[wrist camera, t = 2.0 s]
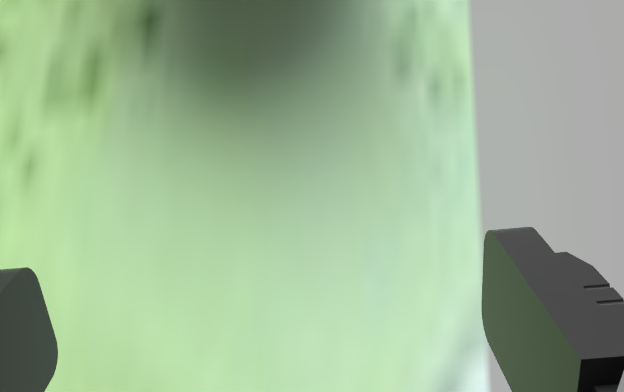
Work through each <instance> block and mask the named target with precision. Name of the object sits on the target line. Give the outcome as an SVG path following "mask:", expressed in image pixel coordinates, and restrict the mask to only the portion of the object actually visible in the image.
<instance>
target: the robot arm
mask: <svg viewBox="0 0 624 392" xmlns="http://www.w3.org/2000/svg"><path fill="white" fill-rule="evenodd" d="M482 319H483V326H484V330H485V334H486V338H487V340H488V343H489V345H490V347H491V349H492V351H493V353H494V355H495V357H496V359H497V361H498V364H499V366H500V368H501V370H502V372H503V374H504V376H505V378H506V380H507V382H508V384H509V386H510V388H511V390H512V392H624V300H623V298H622V297H621V296H620V295H619V294H618V293H617V291H616V290H615V289H614V288H610V286H609V283H608V282H607V281H606V280H605V279H604V278H603V277H602V275H601V274H599V272H598V271H597V270H596V269H595V268H594V267H593V266H592V265H590V264H588V263H586V262H584V261H582V260H581V259H579V258H576V257H575V256H573V255H571V254H569V253H567V252H560V253H554V251H553V250H552V249H551V248H550V247H549V245H548V244H547V243H546V242H545V241H544V239H543V238H542V237H541V236H540V235H539V234H538V232H537V231H536V230H535V229H534V228H532V227H524V228H511V229H500V230H489V231H488V232H487V233H486V235H485V240H484V257H483V283H482ZM57 358H58V348H57V341H56V337H55V334H54V331H53V327H52V324H51V321H50V317H49V314H48V311H47V308H46V304H45V301H44V298H43V294H42V291H41V288H40V284H39V281H38V279H37V276H36V274H35V273H34V272H33V271H32V270H31V269H29V268H15V269H3V270H0V392H44V391H45V389H46V388H47V386H48V384H49V382H50V381H51V379H52V377H53V375H54V372H55V369H56V365H57Z"/></svg>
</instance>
